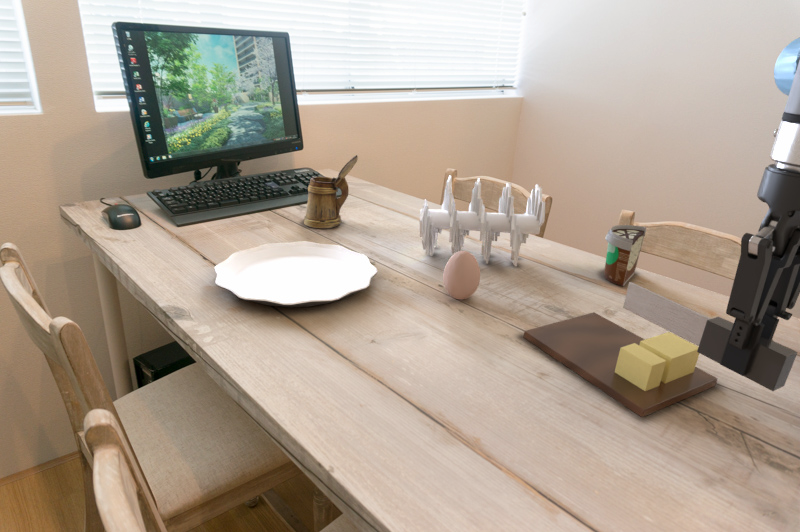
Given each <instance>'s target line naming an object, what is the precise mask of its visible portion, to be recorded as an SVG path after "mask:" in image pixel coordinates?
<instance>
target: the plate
mask: <svg viewBox="0 0 800 532" xmlns="http://www.w3.org/2000/svg"><path fill="white" fill-rule="evenodd" d="M213 269H214V272H215V274H216V277H215V281H214V283H215V285H216V286H217V287H218V288H221V289H224V290H226V291H228V292H231V293H232V295H234V296H236V297H237V298H238V299H241V300H244V301H249V302H253V303H257V304H259V305H260V304H261V305H265V306H271V307H280V308H281V307H282V308H308V307H315V306H321V305H327V304H330V303H333V302H337V301H339V300H342V299H344V298H346V297H349V296H352V295H354V294H356V293H359V292H361V291H364V290H366V289H368V288H369V287H370V285H371V280H372V279H373V278H374V277H375V276H376V275H377V274H378V268H376V267H375V266H374V265H373V264H372V263H371V262H370V259H369V257H368V256H367V255H366V254H363V253H360V252H357V251H354V250H350V249H349V248H346V246H345V247H344V246H342V245H339V244H333V243H332V244H329V243H318V242H314V241H307V240H299V241H290V242H269V243H263V244H260V245H258V246H255V247H252V248H251V247H250V248H247V249H241V250H237V251H235V252H233V253H232V254H230V255H229V256H228V258H227V259H225V260H223V261H221V262H220V263H218V264H216V265H215V266H214V268H213Z"/></svg>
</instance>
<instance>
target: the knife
mask: <svg viewBox="0 0 800 532" xmlns="http://www.w3.org/2000/svg"><path fill="white" fill-rule="evenodd" d="M622 308H623V309H624V310H627V311H628V312H631V313H632V314H634V315H636V316H638V317H640V318H643V319H644V320H646V321H648V322H650V323H652V324H654V325H656V326H658V327H660V328H662V329H664V330H666V331H667V332H670V333H672V334H674V335H676V336H678V337H680V338H682V339H684V340H686V341H688V342H690V343H692V344H694V345H696V346H698V350H697V352H698V353H699V355H701V356H704V357H706V358H708V359H709V360H712V361H713V362H716V363H717V364H719V365H720V363H721V360H722V357H723V354H724V351H725V348H726V345H727V342H728V339H729V336H730V333H731V330H732V327H733V324H734V322H732V321H729V320H727V319H725V318H723V317H721V316H715V317H713V318H711V317H709V316H707V315H704V314H702V313H700V312H698V311H696V310H694V309H691V308H689V307H687V306H684V305H683V304H680V303H678V302H676V301H674V300H672V299H670V298H668V297H665V296H663V295H661V294H658V293H657V292H654V291H652V290H650V289H647V288H645V287H643V286H641V285H639V284H637V283H634V282H632V281H629V282H628V286H627V290H626V294H625V297H624V301H623V306H622ZM797 355H798V351H797V350H794V349H792V348H789V347H787V346H785V345H783V344H781V343H779V342H776V341H774V340H773V339H772V340H770V339H767V338H765V337H763V336H760V339H759V342H758V344H757V347H756V350H755V353H754V355H753V358H752V361H751V364H750V366H749V369H748V372H747V375H745V376H743V377H745V378H746V379H749V380H750V381H752V382H754V383H756V384H758V385H760V386H762V387H763V388H766V389H767V390H770V391H771V392H775V391H777V390H779V389H781V388H783V387H785V385H786V383H787V380H788V378H789V375H790V374H791V373H790V372H791V370H792V367H793V365H794V363H795V360H796V358H797Z"/></svg>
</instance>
